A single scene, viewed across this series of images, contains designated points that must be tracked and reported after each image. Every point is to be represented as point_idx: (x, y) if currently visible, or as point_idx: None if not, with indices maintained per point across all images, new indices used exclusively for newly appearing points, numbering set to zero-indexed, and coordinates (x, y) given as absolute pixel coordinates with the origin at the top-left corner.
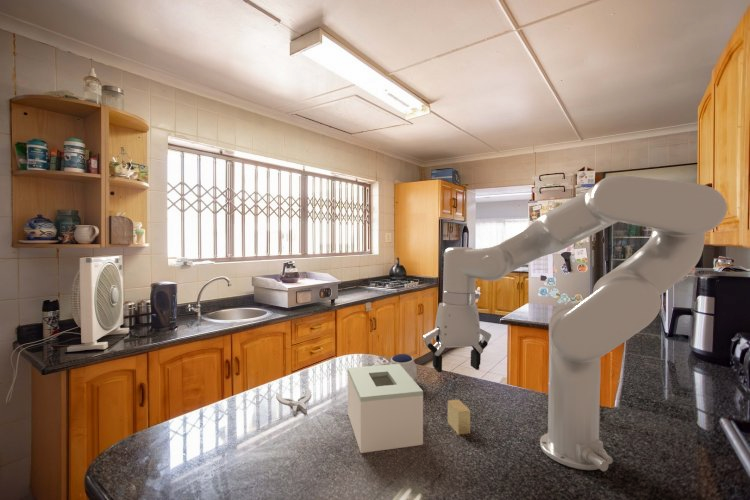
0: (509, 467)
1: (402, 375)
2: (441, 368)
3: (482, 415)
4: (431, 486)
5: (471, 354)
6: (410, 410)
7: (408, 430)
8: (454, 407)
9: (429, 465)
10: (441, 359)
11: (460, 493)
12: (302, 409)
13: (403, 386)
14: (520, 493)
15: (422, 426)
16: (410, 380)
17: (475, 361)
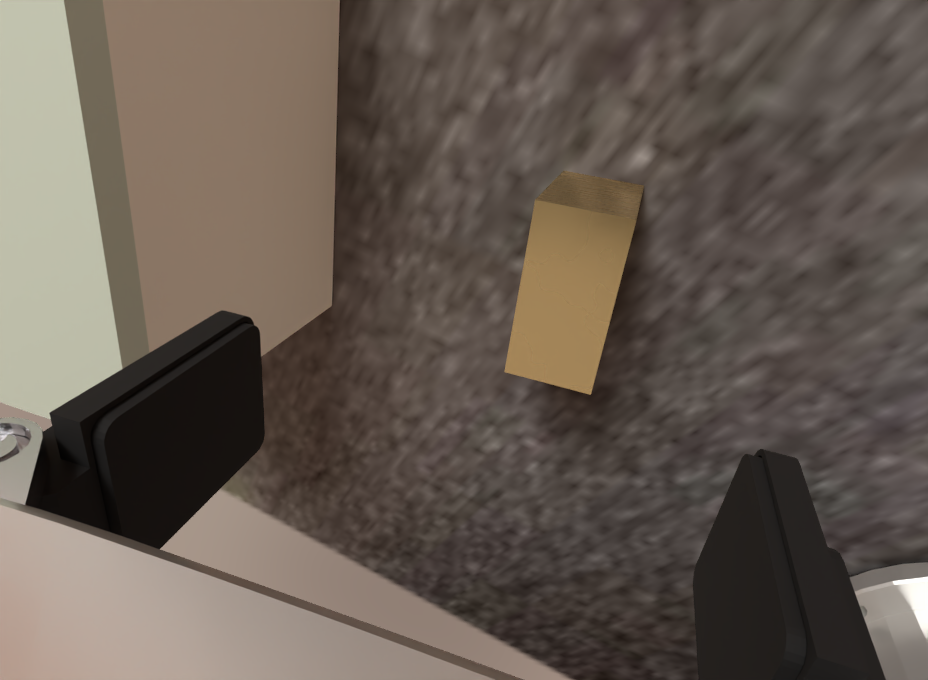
0: (574, 571)
1: (20, 88)
2: (235, 467)
3: (873, 191)
4: (277, 496)
5: (766, 603)
6: None
7: None
8: (515, 314)
9: (307, 422)
10: (152, 546)
11: (343, 555)
12: None
13: (19, 321)
14: (506, 644)
15: (281, 339)
16: (78, 237)
17: (706, 640)
